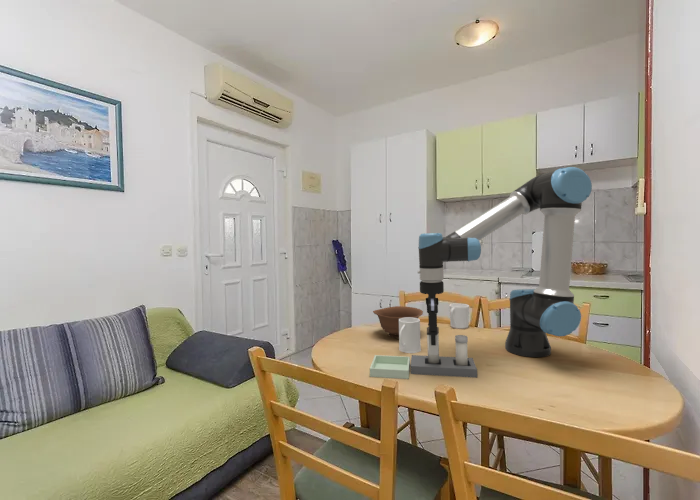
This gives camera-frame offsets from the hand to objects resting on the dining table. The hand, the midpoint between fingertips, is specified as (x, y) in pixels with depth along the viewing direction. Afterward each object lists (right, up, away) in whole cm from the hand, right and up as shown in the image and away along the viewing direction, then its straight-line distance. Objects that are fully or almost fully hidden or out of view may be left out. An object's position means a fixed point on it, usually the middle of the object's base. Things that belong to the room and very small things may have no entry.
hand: (433, 351), depth 112 cm
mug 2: (+24, -4, +50) cm, 56 cm away
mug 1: (-5, -6, +19) cm, 20 cm away
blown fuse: (0, -3, 0) cm, 3 cm away
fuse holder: (+3, -6, 0) cm, 7 cm away
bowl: (-6, -5, +40) cm, 41 cm away
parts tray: (-14, -7, 0) cm, 15 cm away
